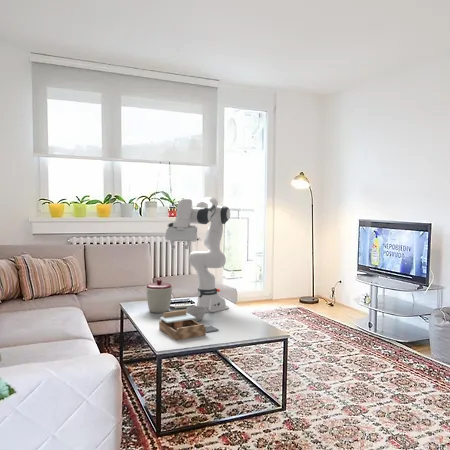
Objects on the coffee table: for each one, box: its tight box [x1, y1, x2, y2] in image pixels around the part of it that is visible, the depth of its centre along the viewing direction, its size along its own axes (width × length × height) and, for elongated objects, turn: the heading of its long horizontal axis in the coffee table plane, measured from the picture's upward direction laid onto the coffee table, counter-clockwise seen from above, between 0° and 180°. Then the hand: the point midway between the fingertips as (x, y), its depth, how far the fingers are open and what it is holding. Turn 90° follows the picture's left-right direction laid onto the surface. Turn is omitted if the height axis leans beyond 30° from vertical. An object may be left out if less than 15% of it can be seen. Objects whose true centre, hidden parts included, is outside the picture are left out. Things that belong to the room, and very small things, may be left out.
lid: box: [159, 309, 196, 323], centre depth 250 cm, size 18×10×3 cm, turn 121°
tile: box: [205, 325, 219, 334], centre depth 251 cm, size 8×8×1 cm
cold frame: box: [158, 319, 207, 341], centre depth 246 cm, size 18×22×6 cm
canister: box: [144, 278, 174, 314], centre depth 289 cm, size 18×18×21 cm
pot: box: [173, 321, 184, 331], centre depth 251 cm, size 6×6×6 cm
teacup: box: [186, 305, 209, 322], centre depth 270 cm, size 14×11×8 cm
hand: (179, 248), depth 255 cm, fingers open, 8 cm apart
